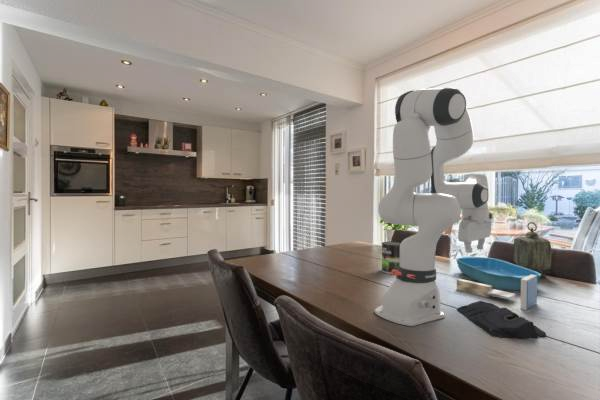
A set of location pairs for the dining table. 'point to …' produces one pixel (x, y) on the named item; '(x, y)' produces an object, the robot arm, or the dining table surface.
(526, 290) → the tile
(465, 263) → the casserole dish
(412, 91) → the robot arm
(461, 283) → the turner
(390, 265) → the coffee can
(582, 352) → the dining table surface
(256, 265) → the dining table surface
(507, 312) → the black folded cloth
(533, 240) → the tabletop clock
